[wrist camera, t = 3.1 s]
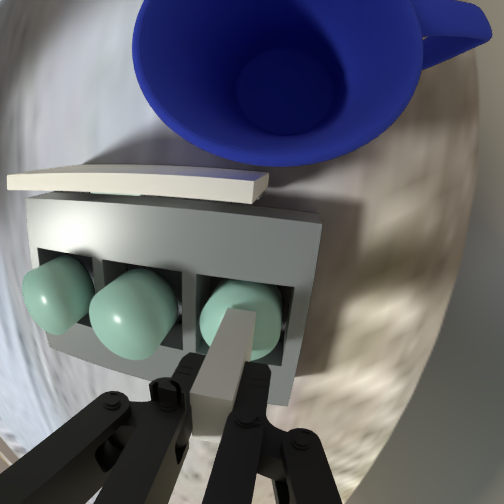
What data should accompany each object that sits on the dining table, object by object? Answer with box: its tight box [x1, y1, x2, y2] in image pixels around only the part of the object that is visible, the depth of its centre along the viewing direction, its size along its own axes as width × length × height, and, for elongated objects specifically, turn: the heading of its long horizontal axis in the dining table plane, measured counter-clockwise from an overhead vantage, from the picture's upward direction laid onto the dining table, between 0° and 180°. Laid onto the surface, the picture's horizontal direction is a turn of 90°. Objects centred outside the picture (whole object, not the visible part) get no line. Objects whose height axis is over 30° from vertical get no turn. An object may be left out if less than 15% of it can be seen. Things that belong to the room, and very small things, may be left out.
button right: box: [200, 278, 283, 361], centre depth 18 cm, size 4×4×3 cm
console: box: [26, 192, 322, 406], centre depth 19 cm, size 19×12×3 cm, turn 85°
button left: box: [22, 255, 95, 335], centre depth 17 cm, size 4×4×3 cm
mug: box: [132, 0, 492, 167], centre depth 10 cm, size 8×12×10 cm
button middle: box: [89, 268, 179, 360], centre depth 16 cm, size 4×4×3 cm
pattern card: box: [7, 164, 269, 204], centre depth 15 cm, size 13×1×7 cm, turn 85°
